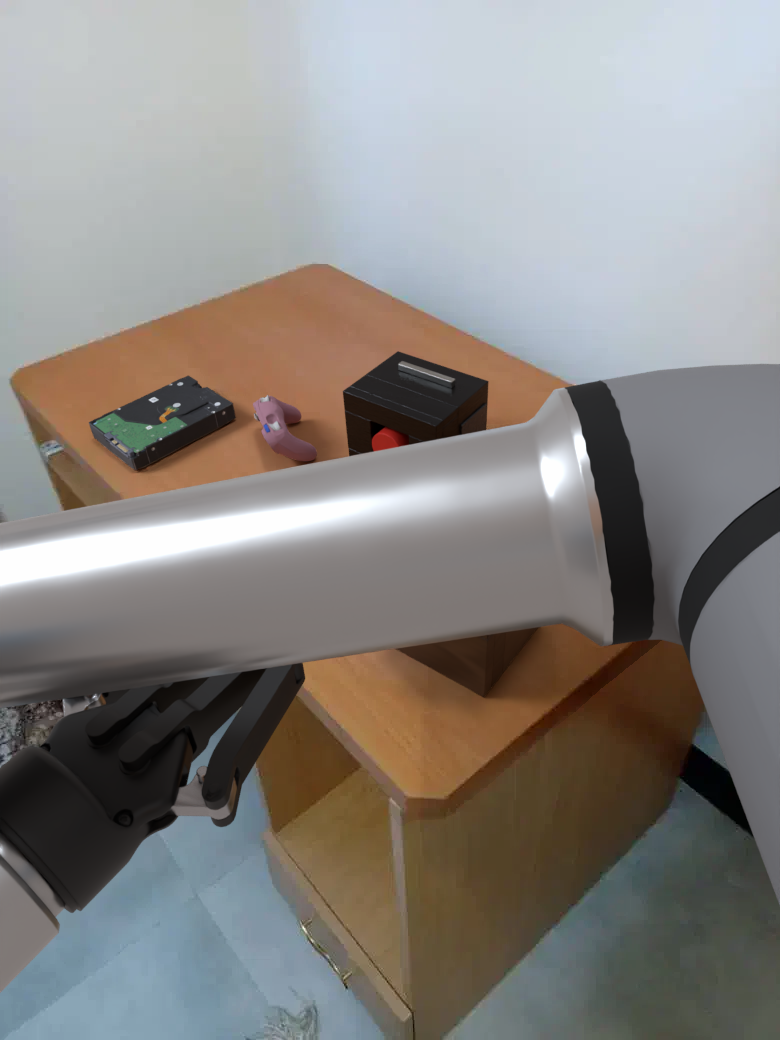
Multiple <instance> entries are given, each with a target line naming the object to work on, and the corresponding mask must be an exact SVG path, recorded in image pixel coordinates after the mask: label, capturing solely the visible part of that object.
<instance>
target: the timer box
mask: <svg viewBox="0 0 780 1040" xmlns="http://www.w3.org/2000/svg"><path fill="white" fill-rule="evenodd" d="M538 628H539V627H536V628H530V629H523V630H516V631H510V632H503V633H497V634H490V635H483V636H477V637H470V638H463V639H457V640H450V641H443V642H437V643H430V644H423V645H417V646H410V647H404V648H397V649H396V650H397V651H399V652H401V654H402V653H403V655H406V656H407V657H409V658H412V659H413V660H415V661H417V662H418V663H420V664H422V665H424V666H426V667H428V668H430V669H431V670H434V671H435V672H437V673H439V674H440V675H443V676H444V677H446V678H447V679H449V680H451V681H453V682H455V683H456V684H458V685H461V686H462V687H464V688H466V689H468V690H469V691H471V692H473V693H475V694H476V695H478V696H481V697H482V698H485V697H486V696H487V695H488V693H489V692H490V691H491V690H492V688H493V687H494V686H495V684H496V683H497V682H498V680H499V679H500V678H501V677H502V675H503V674H504V672H505V671H506V670H507V669H508V667H509V666H510V665H511V663H512V662H513V661H514V660H515V658H516V657H517V655H519V653H520V652H521V650H522V649H523V648H524V647H525V645H526V644H527V643H528V641H529V640H530V638H531V637H532V636H533V635H534V633H535V632H536V631H537V630H538Z"/></svg>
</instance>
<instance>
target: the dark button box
mask: <svg viewBox="0 0 780 1040" xmlns="http://www.w3.org/2000/svg"><path fill="white" fill-rule="evenodd" d="M489 383H490V382H489V381H488V380H486V379H483V378H480V377H478V376H474V375H471V374H469V373H466V372H462V371H459V370H456V369H453V368H451V367H446V366H444V365H441V364H438V363H434V362H432V361H429V360H426V359H423V358H420V357H417V356H413V355H410V354H408V353H404V352H401V351H396V352H394V353H393V354H392V355H391V356H389V357H388V358H386V359H385V360H384V361H382V362H381V363H379V364H378V365H377V366H375V367H374V368H373V369H371V370H369V371H368V372H367V373H366V374H364V375H363V376H361V377H360V378H359V379H357V380H356V381H354V382H353V383H352V384H350V385H349V386H348V387H346V388H345V389H344V390H342V399H343V408H344V419H345V420H344V421H345V430H346V438H347V439H346V440H347V448H348V456H353V455H359V454H364V453H369V452H374V450H373V447H372V439H373V437H374V436H375V435H376V434H377V433H378V432H380V431H381V430H382V429H383V428H385V427H388V428H391V429H393V430H396V431H398V432H401V433H403V434H406V435H409V445H411V444H416V443H422V442H427V441H432V440H437V439H442V438H448V437H453V436H458V435H463V434H469V433H474V432H479V431H484V430H487V428H488V427H487V424H488V405H489V404H488V403H489V401H488V400H489Z"/></svg>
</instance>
